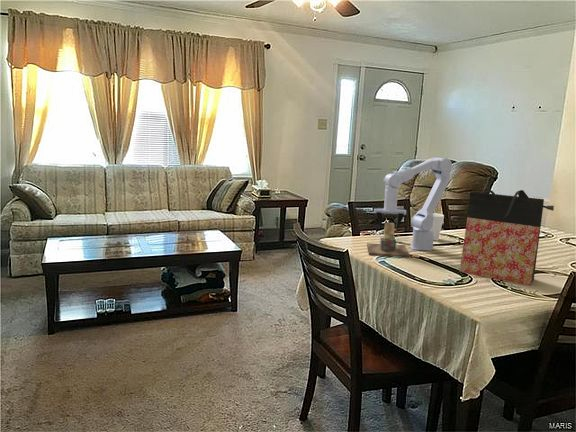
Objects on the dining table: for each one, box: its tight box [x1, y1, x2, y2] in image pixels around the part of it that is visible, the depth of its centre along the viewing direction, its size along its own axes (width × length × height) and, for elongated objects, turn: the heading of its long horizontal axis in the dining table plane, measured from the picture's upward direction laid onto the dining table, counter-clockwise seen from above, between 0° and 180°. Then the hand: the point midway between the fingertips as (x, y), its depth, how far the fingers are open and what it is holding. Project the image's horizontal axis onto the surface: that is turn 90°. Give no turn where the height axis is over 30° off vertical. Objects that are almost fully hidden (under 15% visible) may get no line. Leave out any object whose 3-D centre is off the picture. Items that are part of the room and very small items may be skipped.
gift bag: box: [459, 188, 555, 287], centre depth 179 cm, size 29×14×35 cm, turn 56°
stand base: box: [366, 237, 411, 258], centre depth 215 cm, size 18×18×6 cm
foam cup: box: [430, 212, 445, 241], centre depth 241 cm, size 10×9×13 cm
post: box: [382, 222, 395, 241], centre depth 213 cm, size 4×4×8 cm
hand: (388, 229), depth 216 cm, fingers open, 7 cm apart
